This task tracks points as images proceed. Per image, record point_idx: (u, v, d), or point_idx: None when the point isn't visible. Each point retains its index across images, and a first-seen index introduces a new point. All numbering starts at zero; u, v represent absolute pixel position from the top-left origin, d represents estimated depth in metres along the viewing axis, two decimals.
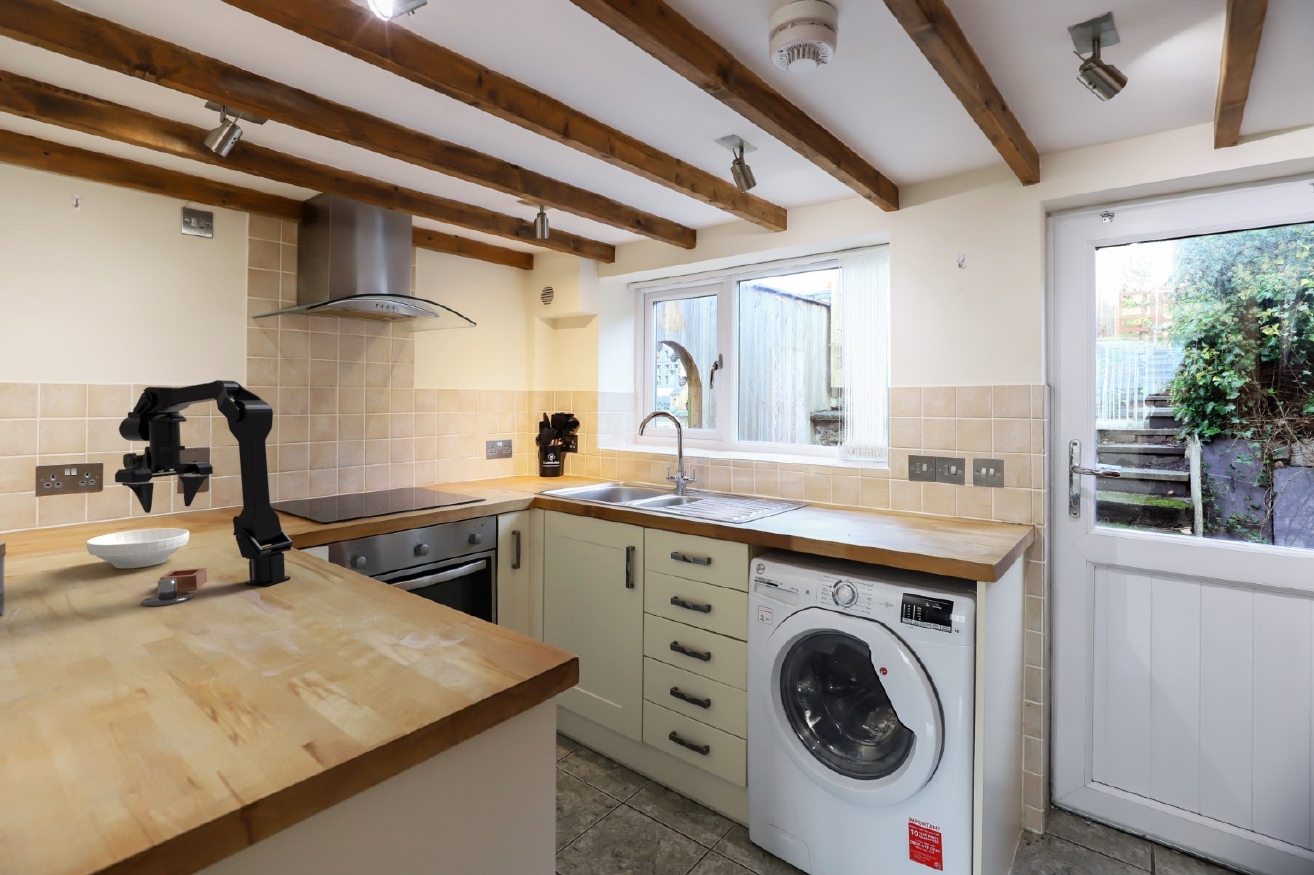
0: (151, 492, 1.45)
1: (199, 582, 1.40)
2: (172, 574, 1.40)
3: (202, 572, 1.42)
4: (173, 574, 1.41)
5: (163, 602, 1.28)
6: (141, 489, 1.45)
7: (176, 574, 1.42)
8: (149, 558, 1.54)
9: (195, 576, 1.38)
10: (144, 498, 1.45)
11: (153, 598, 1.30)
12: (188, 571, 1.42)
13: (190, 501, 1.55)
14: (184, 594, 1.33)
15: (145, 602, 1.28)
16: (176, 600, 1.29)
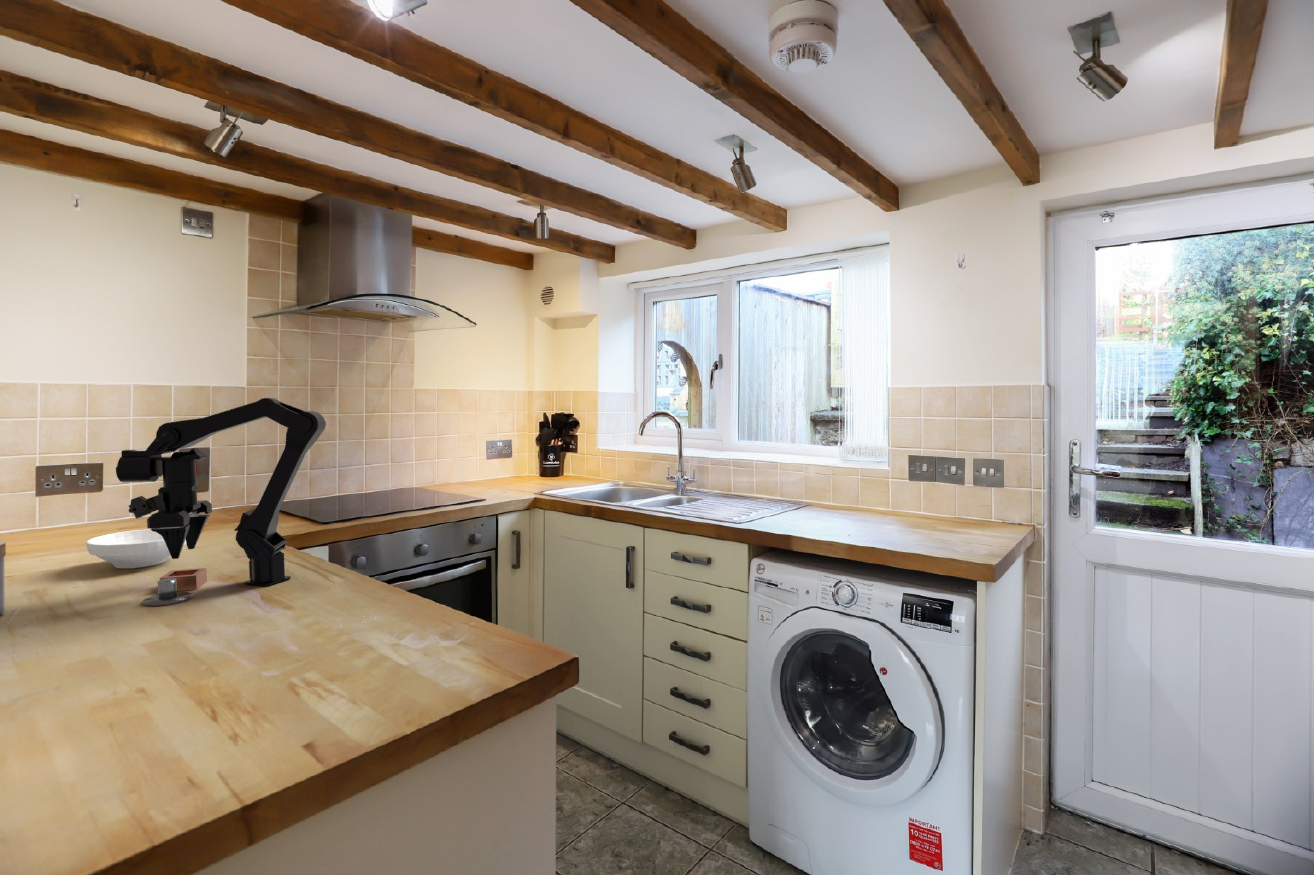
0: (185, 536, 1.35)
1: (199, 582, 1.40)
2: (172, 574, 1.40)
3: (202, 572, 1.42)
4: (173, 574, 1.41)
5: (163, 602, 1.28)
6: (172, 533, 1.34)
7: (176, 574, 1.42)
8: (149, 558, 1.54)
9: (195, 576, 1.38)
10: (178, 543, 1.35)
11: (153, 598, 1.30)
12: (188, 571, 1.42)
13: None
14: (184, 594, 1.33)
15: (145, 602, 1.28)
16: (176, 600, 1.29)
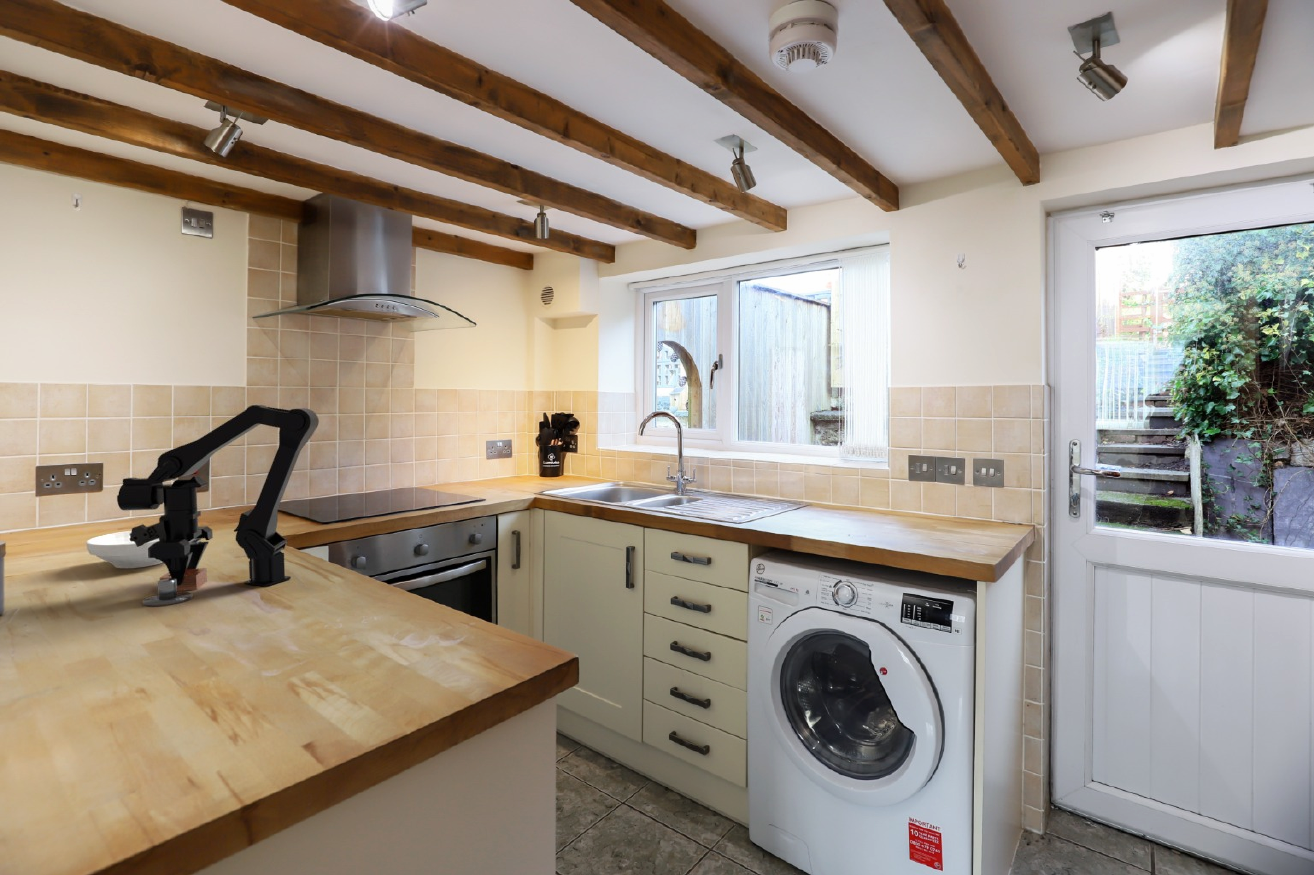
0: (188, 563, 1.37)
1: (199, 582, 1.40)
2: None
3: (202, 572, 1.42)
4: None
5: (163, 602, 1.28)
6: (175, 561, 1.36)
7: None
8: (149, 558, 1.54)
9: (195, 576, 1.38)
10: (180, 570, 1.36)
11: (153, 598, 1.30)
12: (188, 571, 1.42)
13: None
14: (184, 594, 1.33)
15: (145, 602, 1.28)
16: (176, 600, 1.29)
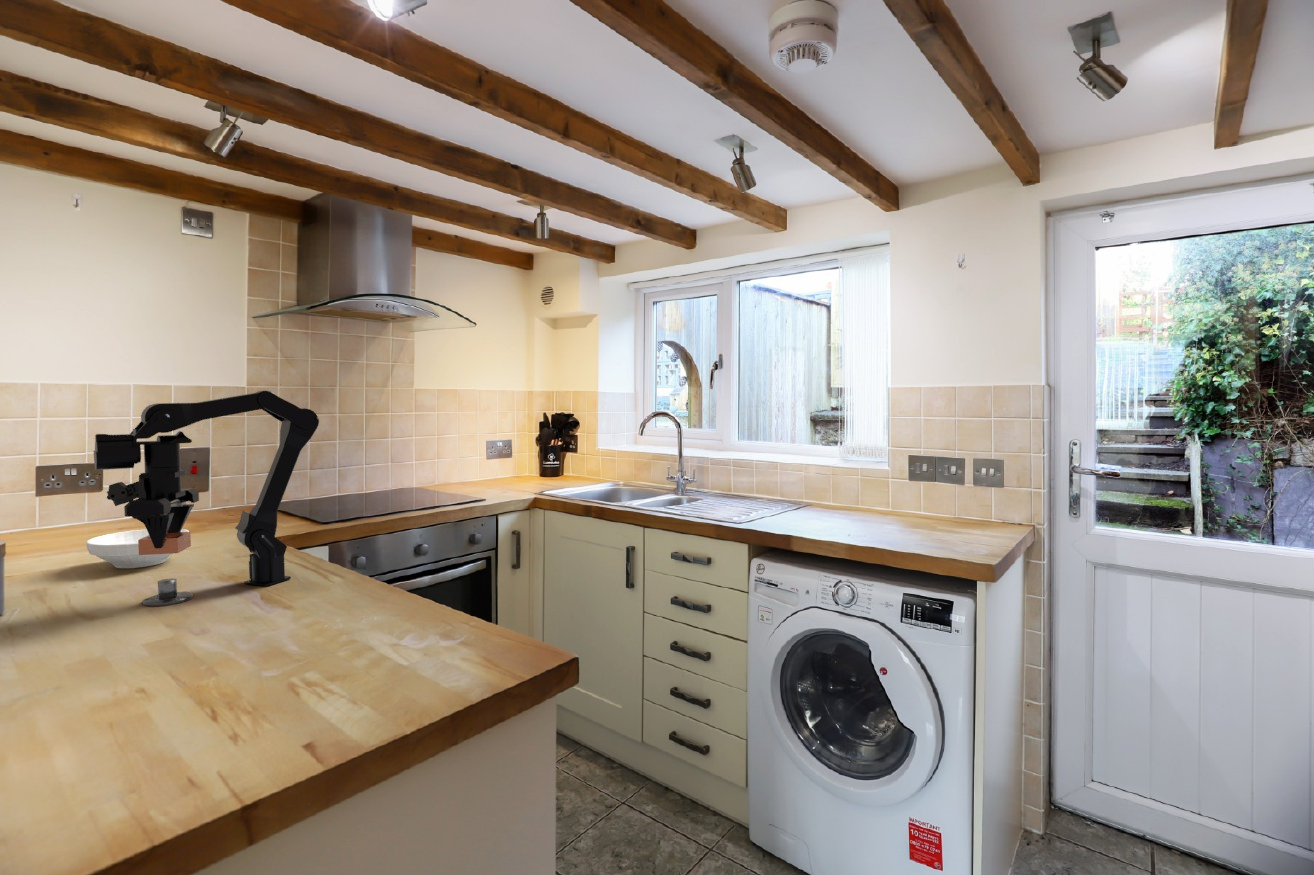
0: (169, 524, 1.28)
1: (181, 545, 1.31)
2: None
3: (185, 535, 1.32)
4: None
5: (163, 602, 1.28)
6: (155, 521, 1.26)
7: None
8: (149, 558, 1.54)
9: (176, 539, 1.29)
10: (160, 531, 1.27)
11: (153, 598, 1.30)
12: (170, 534, 1.33)
13: None
14: (184, 594, 1.33)
15: (145, 602, 1.28)
16: (176, 600, 1.29)
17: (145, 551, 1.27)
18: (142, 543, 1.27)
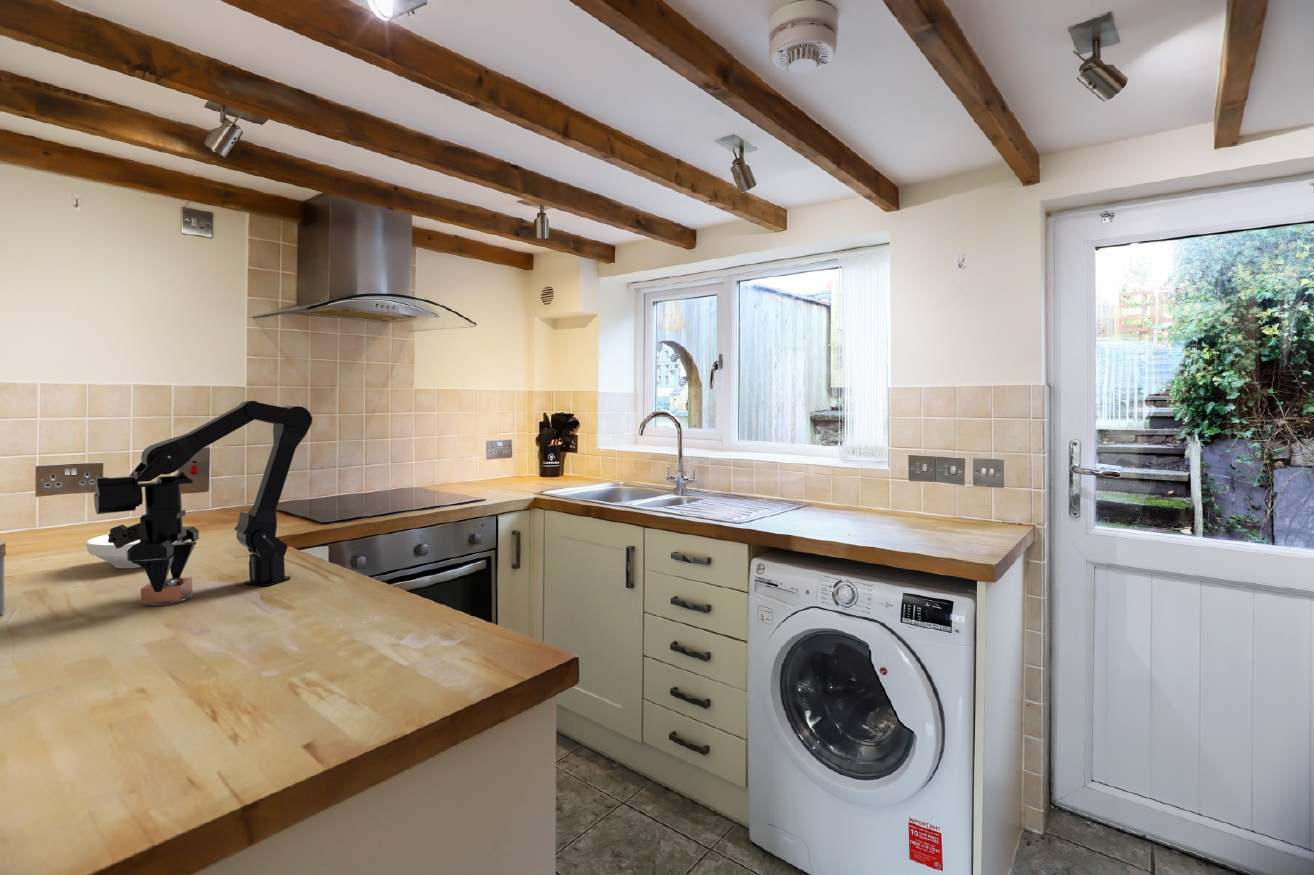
0: (169, 567, 1.26)
1: (184, 592, 1.31)
2: None
3: (187, 582, 1.32)
4: None
5: (163, 602, 1.28)
6: (155, 565, 1.25)
7: None
8: None
9: (179, 586, 1.29)
10: (161, 575, 1.25)
11: None
12: None
13: (181, 573, 1.35)
14: None
15: None
16: None
17: (148, 599, 1.27)
18: (144, 592, 1.27)
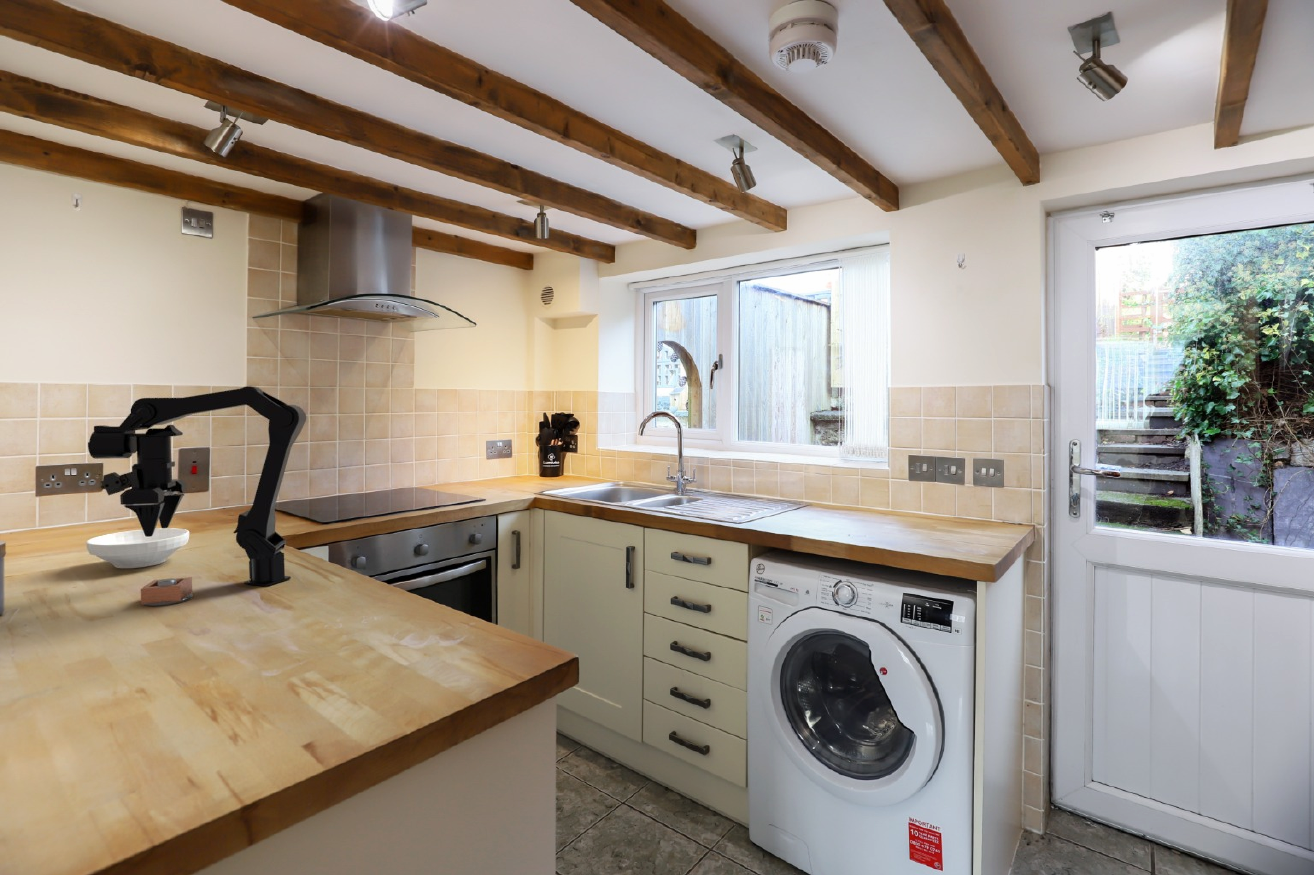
0: (160, 513, 1.33)
1: (184, 592, 1.31)
2: (154, 584, 1.31)
3: (187, 582, 1.32)
4: (156, 584, 1.31)
5: (163, 602, 1.28)
6: (146, 511, 1.32)
7: None
8: (149, 558, 1.54)
9: (179, 586, 1.29)
10: (151, 520, 1.33)
11: None
12: None
13: (169, 522, 1.42)
14: None
15: None
16: None
17: (148, 599, 1.27)
18: (144, 592, 1.27)
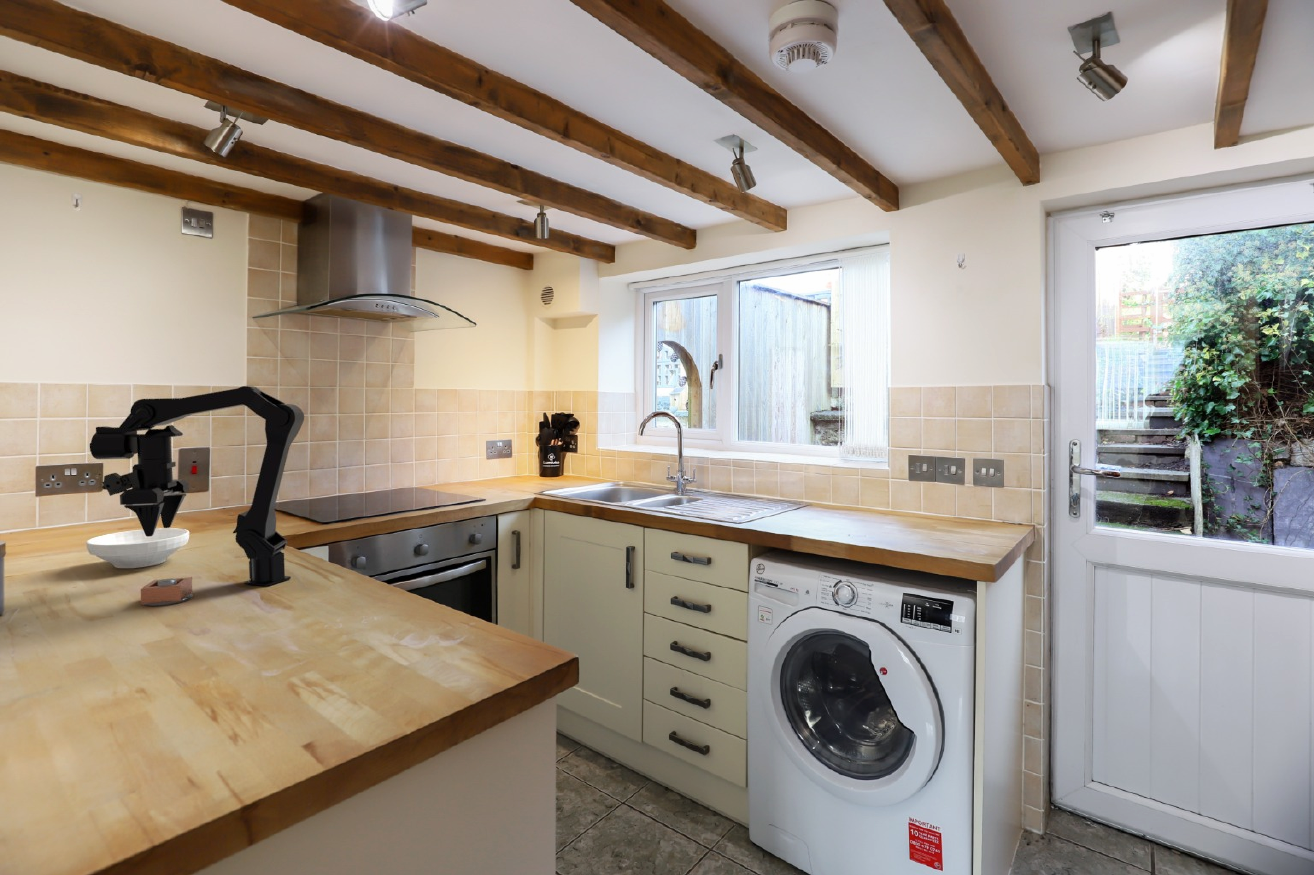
0: (160, 513, 1.34)
1: (184, 592, 1.31)
2: (154, 584, 1.31)
3: (187, 582, 1.32)
4: (156, 584, 1.31)
5: (163, 602, 1.28)
6: (146, 511, 1.33)
7: None
8: (149, 558, 1.54)
9: (179, 586, 1.29)
10: (151, 520, 1.33)
11: None
12: None
13: (171, 522, 1.43)
14: None
15: None
16: None
17: (148, 599, 1.27)
18: (144, 592, 1.27)
